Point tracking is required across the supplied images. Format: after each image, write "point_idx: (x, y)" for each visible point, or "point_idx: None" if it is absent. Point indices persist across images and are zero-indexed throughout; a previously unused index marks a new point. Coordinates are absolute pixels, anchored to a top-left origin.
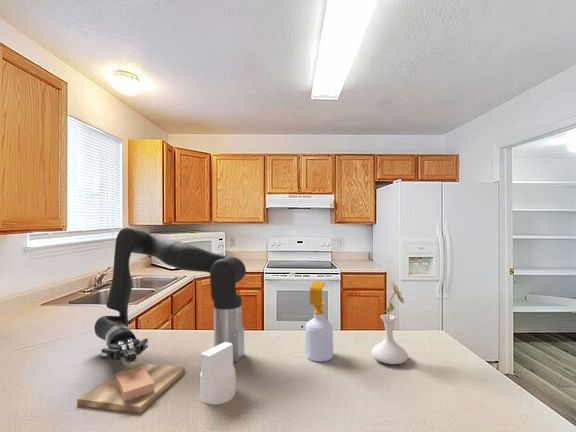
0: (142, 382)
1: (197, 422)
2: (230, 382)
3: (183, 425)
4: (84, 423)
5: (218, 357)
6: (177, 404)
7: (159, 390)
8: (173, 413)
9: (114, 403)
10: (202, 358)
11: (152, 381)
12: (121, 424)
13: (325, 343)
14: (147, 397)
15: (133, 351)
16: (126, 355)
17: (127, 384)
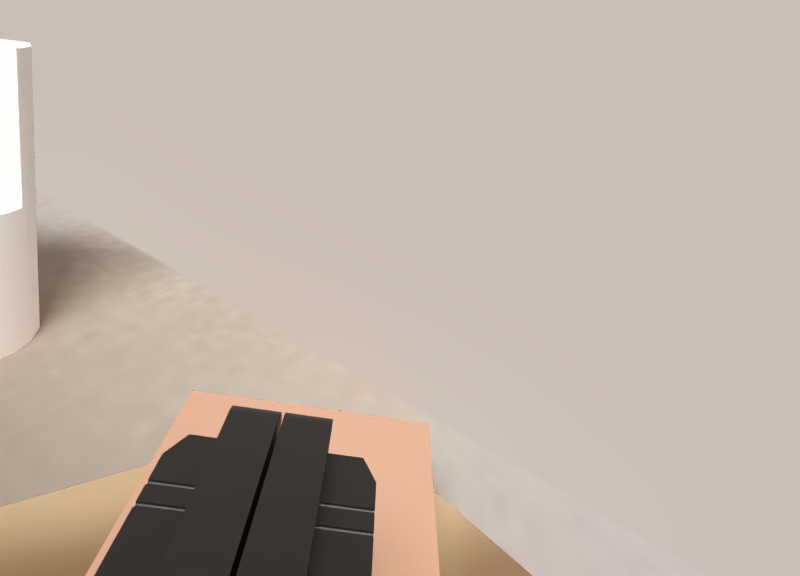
0: None
1: (179, 293)
2: None
3: (228, 308)
4: (650, 570)
5: None
6: (135, 389)
7: (132, 476)
8: (204, 361)
9: (478, 529)
10: (23, 79)
11: (191, 406)
12: (441, 439)
13: None
14: None
15: (152, 552)
16: (354, 479)
17: (378, 496)
